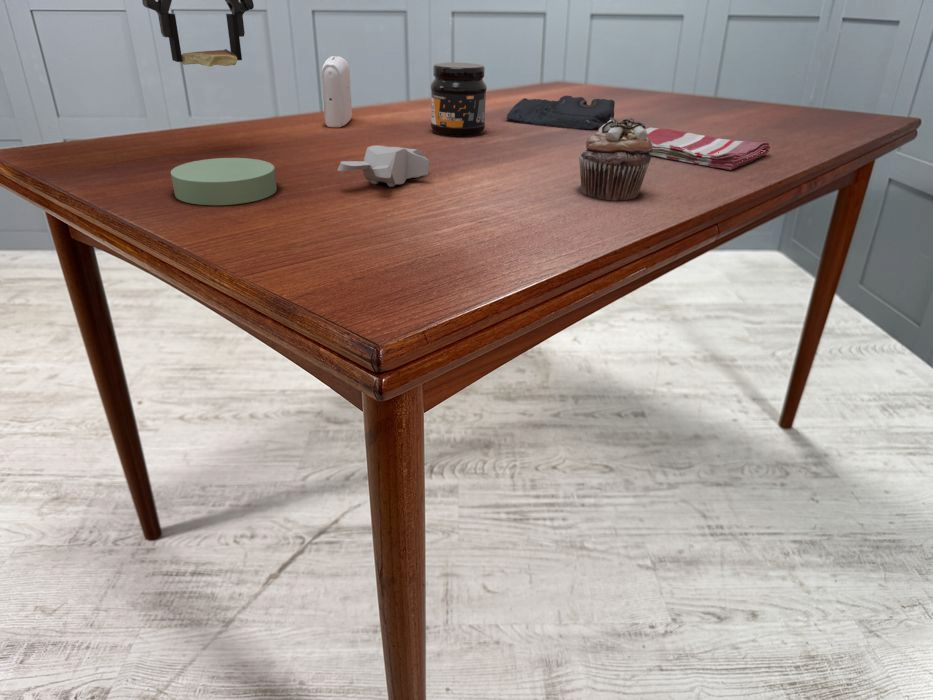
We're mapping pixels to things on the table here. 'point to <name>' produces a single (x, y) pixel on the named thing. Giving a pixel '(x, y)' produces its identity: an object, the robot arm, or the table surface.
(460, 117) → the supplement container
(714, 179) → the table surface
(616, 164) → the cupcake
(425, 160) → the grey faceted piece
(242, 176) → the disc
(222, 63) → the shard
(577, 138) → the table surface
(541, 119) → the dark slate chunk
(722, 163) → the dish towel
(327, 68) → the photo printer
